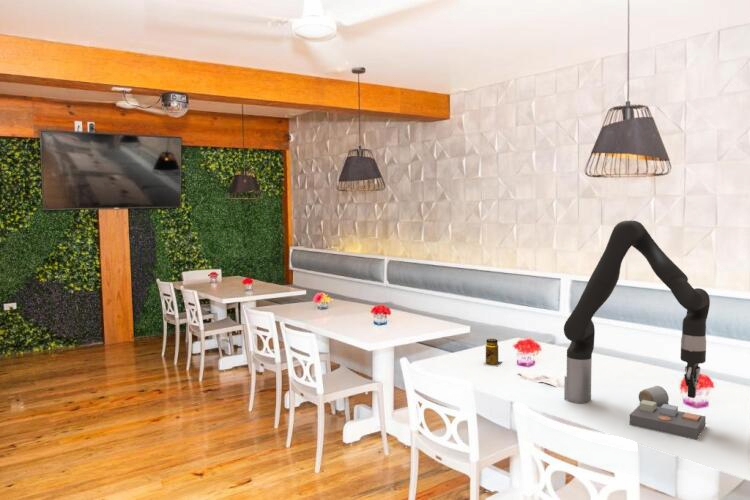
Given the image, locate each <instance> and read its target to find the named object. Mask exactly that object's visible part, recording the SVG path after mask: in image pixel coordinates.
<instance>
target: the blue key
mask: <svg viewBox="0 0 750 500" xmlns="http://www.w3.org/2000/svg"><path fill="white" fill-rule="evenodd" d="M660 408H661V414H662V415H667V416H672V417H676V416H677V415H678V411H679V407H678V405H672V404H669V405H668V404H663V405H662V406H661V407H660Z"/></svg>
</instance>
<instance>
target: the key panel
mask: <svg viewBox="0 0 750 500" xmlns="http://www.w3.org/2000/svg"><path fill="white" fill-rule="evenodd" d="M685 413H687V412H685V411H680V410H678V415H677V416H676V417H672V416H667V415H662V414H661V407H656V411H655V412H654V413H652V412H647V411H642V410H639V405H638V406H637V407H636V408H635V409H634V410H633V411H632V412H631V413H629V426H632V427H633V426H634V427H638V428H642V429H648V430H652V431H657V432H660V433H665V434H670V435H675V436H680V437H684V438H688V437H689V438H688V439H692V438H694V440H697V439H698V438H699V437H700V435H701V434H702V432H703V431H704V429H705V428H704V427H706V415H701V414H699V415H700V420H699V421H698V422H697V421H692V420H687V419H683V415H684V414H685ZM689 413H690V412H689ZM690 414H692V413H690ZM694 414H695V413H694ZM695 415H697V414H695ZM702 430H703V431H702ZM700 433H701V434H700ZM698 436H699V437H698Z"/></svg>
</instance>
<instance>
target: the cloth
mask: <svg viewBox="0 0 750 500" xmlns="http://www.w3.org/2000/svg"><path fill="white" fill-rule="evenodd" d="M516 375H517V376H518V375H519V376H521V377H520V378H521V379H524V380H527V381H528V382H529V381H531V382H533V383H544V384H548V385H550V386H553V387H555V388H560V387H561V388H564V386H565V383H563V382H562V381H561V380H558V379H557V378H555V377H554V376H553V377H550V376H547V375H543V374H526V373H525V374H523V373H517V374H516Z"/></svg>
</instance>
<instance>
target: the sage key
mask: <svg viewBox="0 0 750 500" xmlns="http://www.w3.org/2000/svg"><path fill="white" fill-rule="evenodd" d="M638 406H639V410H642V411H647V412H652V413H654V412H655V411H656V402H652V401H647V400H642V401H641V402H640V401H639V405H638Z"/></svg>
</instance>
